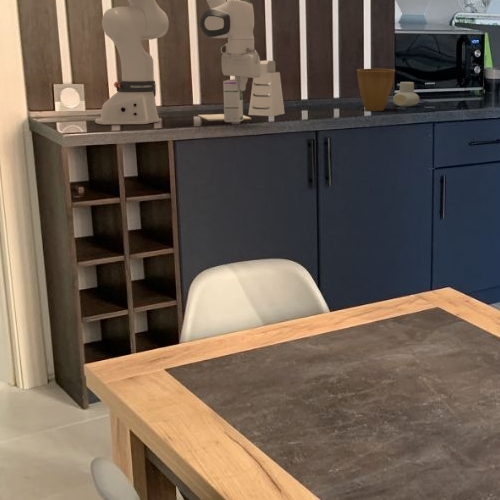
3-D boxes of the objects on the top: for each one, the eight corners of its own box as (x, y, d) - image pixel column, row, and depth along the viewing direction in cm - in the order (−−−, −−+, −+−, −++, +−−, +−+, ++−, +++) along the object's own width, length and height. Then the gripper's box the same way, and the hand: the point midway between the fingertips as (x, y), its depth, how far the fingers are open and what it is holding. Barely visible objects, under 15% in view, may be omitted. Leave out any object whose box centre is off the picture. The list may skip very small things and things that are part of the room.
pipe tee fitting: (422, 106, 349) (423, 82, 346) (410, 107, 344) (411, 83, 341) (401, 105, 357) (402, 81, 354) (389, 106, 351) (390, 82, 349)
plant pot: (349, 109, 338) (350, 69, 334) (382, 108, 343) (384, 68, 339) (365, 112, 325) (367, 70, 320) (399, 111, 329) (401, 70, 325)
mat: (208, 120, 297) (208, 119, 297) (198, 116, 312) (198, 114, 312) (251, 119, 301) (251, 117, 301) (239, 114, 316) (239, 113, 316)
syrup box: (240, 122, 291) (239, 80, 287) (223, 122, 292) (223, 80, 289) (243, 120, 297) (243, 79, 293) (227, 120, 298) (226, 79, 294)
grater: (248, 114, 317) (248, 61, 312) (260, 112, 326) (260, 60, 321) (273, 116, 312) (273, 61, 307) (284, 113, 321) (285, 60, 316)
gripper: (265, 48, 271) (265, 91, 275) (234, 47, 288) (234, 88, 292) (249, 49, 268) (249, 92, 272) (218, 47, 285) (218, 88, 289)
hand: (241, 90), depth 282 cm, fingers closed
